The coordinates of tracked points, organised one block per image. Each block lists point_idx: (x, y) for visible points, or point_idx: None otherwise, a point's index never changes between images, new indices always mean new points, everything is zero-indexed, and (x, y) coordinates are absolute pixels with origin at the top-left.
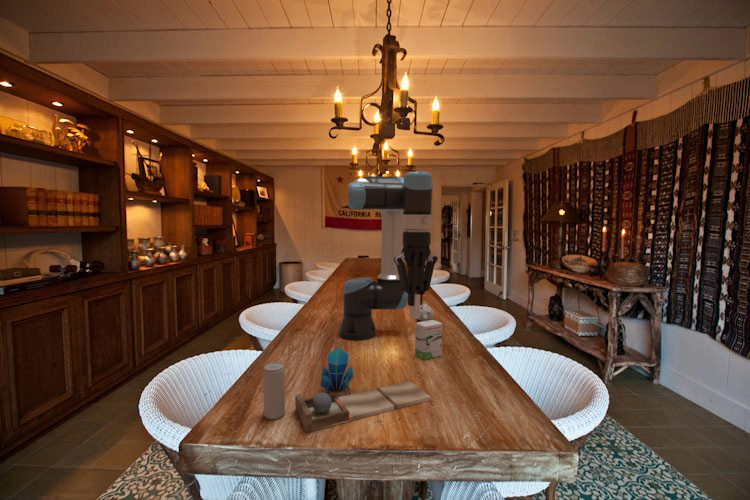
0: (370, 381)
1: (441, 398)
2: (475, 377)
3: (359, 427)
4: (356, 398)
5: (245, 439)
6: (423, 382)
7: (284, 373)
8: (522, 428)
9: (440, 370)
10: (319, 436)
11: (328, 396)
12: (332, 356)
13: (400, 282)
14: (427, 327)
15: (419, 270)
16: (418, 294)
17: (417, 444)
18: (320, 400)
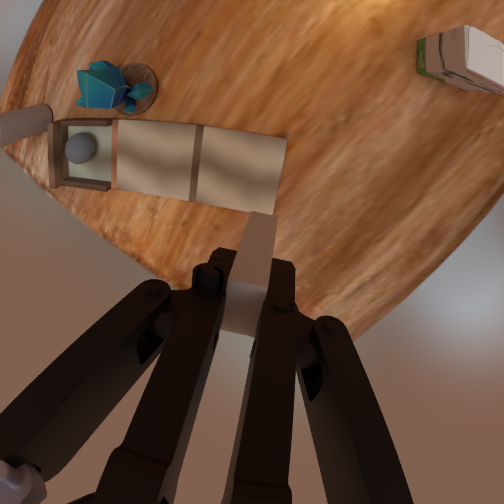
0: (218, 75)
1: (296, 221)
2: (424, 211)
3: (122, 206)
4: (143, 141)
5: (20, 157)
6: (321, 151)
7: (8, 132)
8: None
9: (402, 137)
10: (76, 195)
11: (80, 156)
12: (82, 84)
13: (102, 322)
14: (472, 72)
15: (227, 480)
16: (245, 331)
17: (172, 278)
18: (69, 160)
